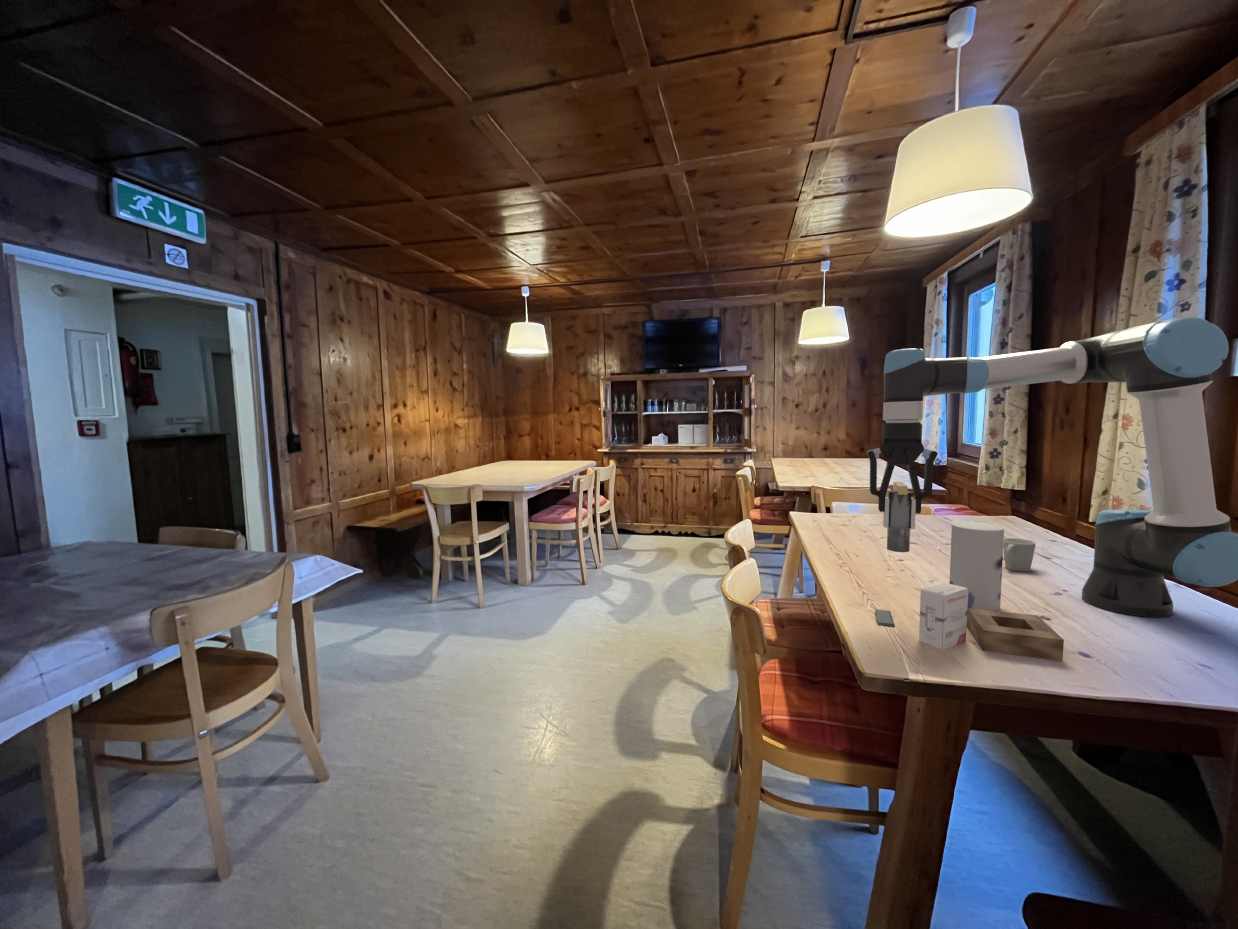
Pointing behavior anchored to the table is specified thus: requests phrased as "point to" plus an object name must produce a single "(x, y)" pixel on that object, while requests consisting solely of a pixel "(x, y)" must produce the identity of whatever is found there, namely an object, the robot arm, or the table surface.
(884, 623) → the mat
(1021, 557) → the cup
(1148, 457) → the robot arm
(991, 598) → the container
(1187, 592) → the table surface
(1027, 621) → the block
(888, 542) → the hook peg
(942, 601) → the ink box
